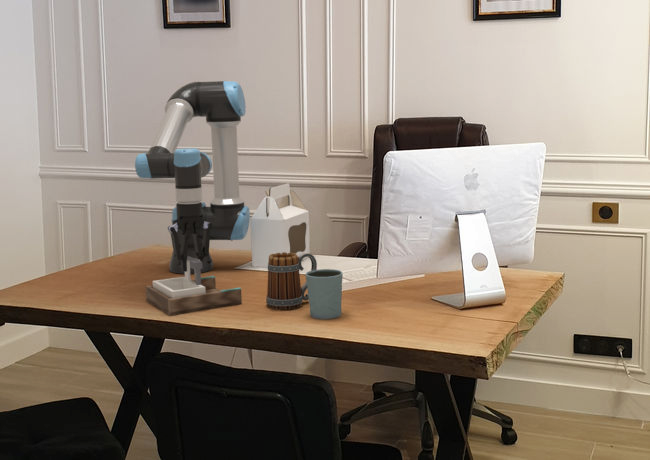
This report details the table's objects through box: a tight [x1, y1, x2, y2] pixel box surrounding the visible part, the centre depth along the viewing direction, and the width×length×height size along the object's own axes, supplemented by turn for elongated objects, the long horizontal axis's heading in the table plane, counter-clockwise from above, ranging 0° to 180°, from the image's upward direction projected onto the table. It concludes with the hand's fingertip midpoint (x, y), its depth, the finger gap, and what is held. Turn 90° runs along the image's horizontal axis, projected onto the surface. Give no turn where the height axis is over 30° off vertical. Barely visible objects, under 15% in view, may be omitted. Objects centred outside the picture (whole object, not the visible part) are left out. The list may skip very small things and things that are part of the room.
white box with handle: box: [152, 256, 206, 299], centre depth 245 cm, size 11×16×12 cm, turn 31°
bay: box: [145, 275, 243, 317], centre depth 248 cm, size 22×20×5 cm
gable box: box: [250, 182, 311, 269], centre depth 302 cm, size 22×13×28 cm, turn 158°
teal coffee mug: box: [305, 268, 343, 320], centre depth 231 cm, size 10×10×12 cm
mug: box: [265, 252, 318, 311], centre depth 242 cm, size 16×11×15 cm
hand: (192, 281), depth 247 cm, fingers closed on white box with handle, 2 cm apart
